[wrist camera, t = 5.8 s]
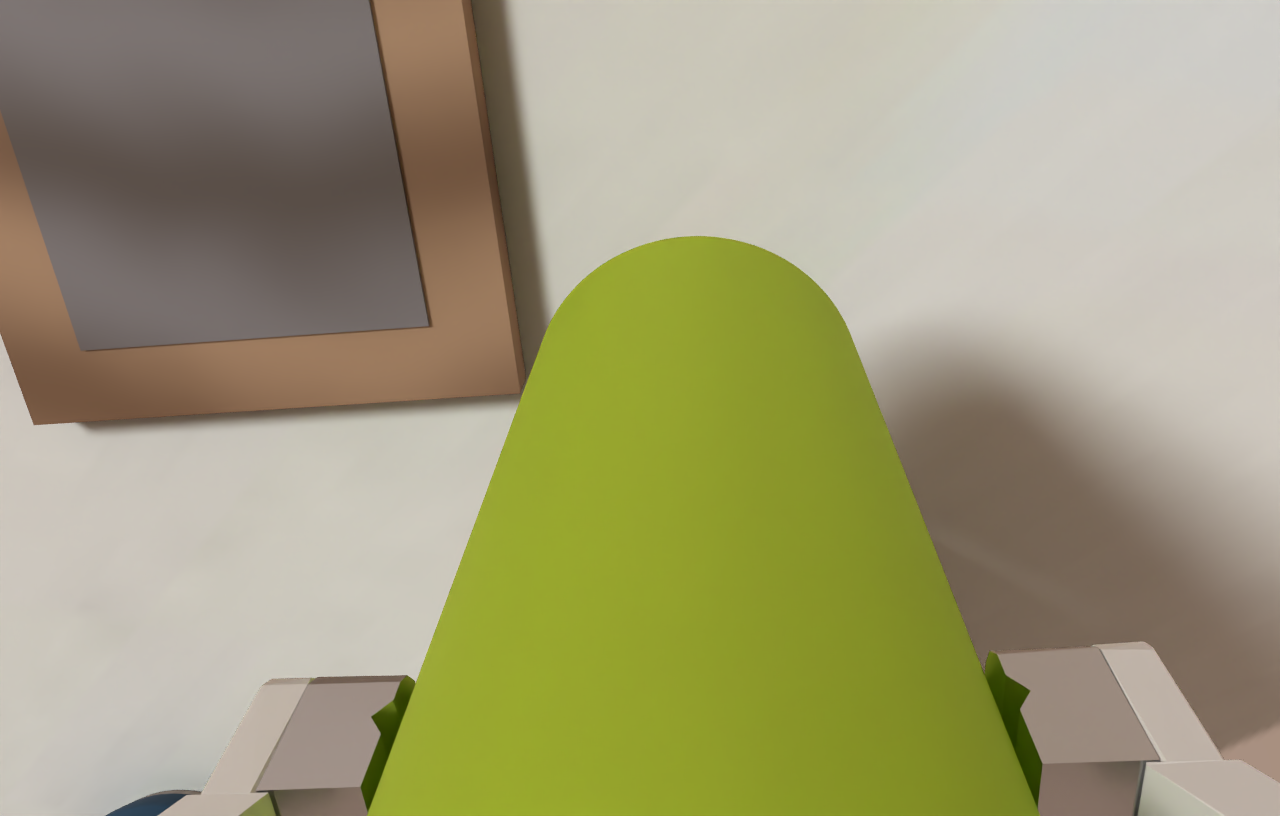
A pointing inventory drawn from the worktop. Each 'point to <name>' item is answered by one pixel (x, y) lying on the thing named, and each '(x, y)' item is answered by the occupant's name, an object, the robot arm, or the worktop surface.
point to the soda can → (152, 803)
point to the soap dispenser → (700, 578)
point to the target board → (248, 207)
